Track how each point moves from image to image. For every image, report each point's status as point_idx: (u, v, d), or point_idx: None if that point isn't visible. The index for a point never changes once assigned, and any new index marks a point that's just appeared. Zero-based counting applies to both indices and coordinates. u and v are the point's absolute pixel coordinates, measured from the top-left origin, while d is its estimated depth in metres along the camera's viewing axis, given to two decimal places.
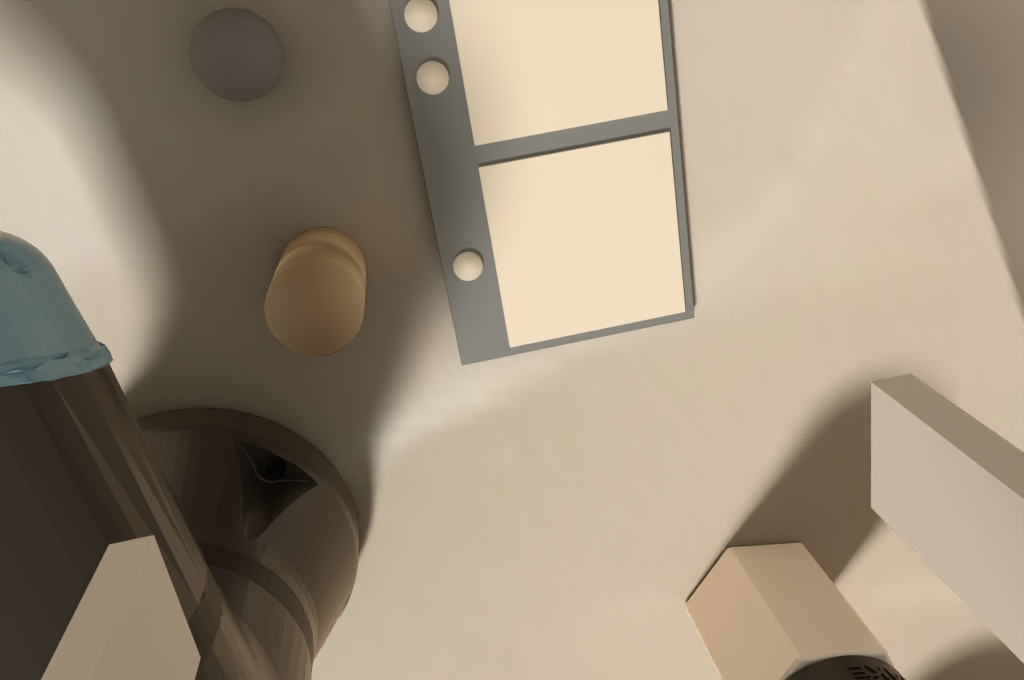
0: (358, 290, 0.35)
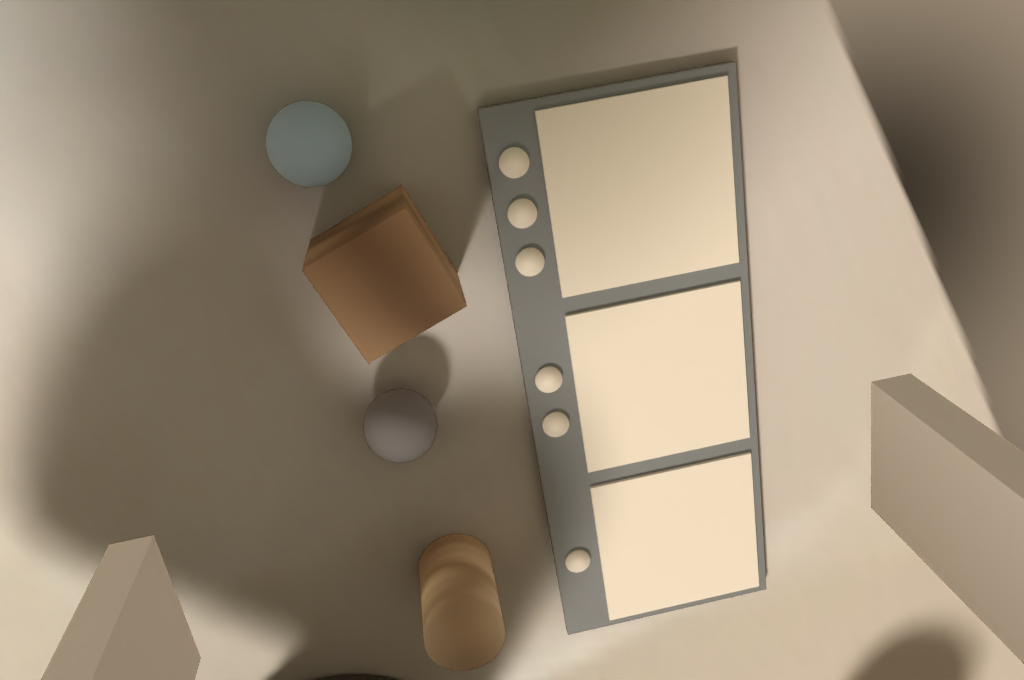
0: (501, 621, 0.42)
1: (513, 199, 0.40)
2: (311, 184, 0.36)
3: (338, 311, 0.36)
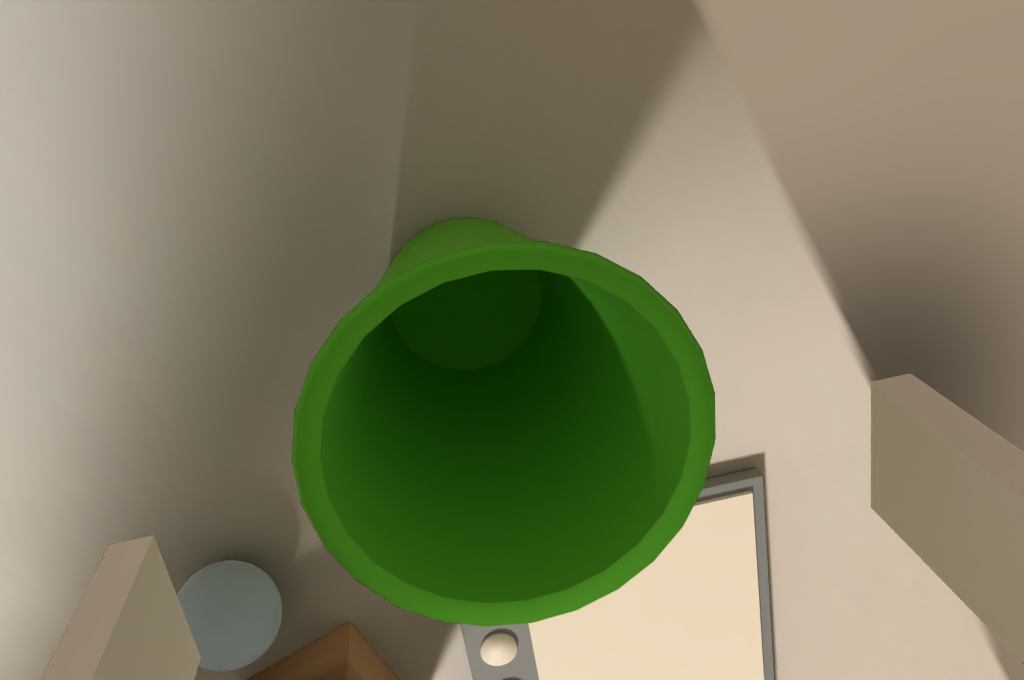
0: None
1: (487, 634, 0.32)
2: None
3: None
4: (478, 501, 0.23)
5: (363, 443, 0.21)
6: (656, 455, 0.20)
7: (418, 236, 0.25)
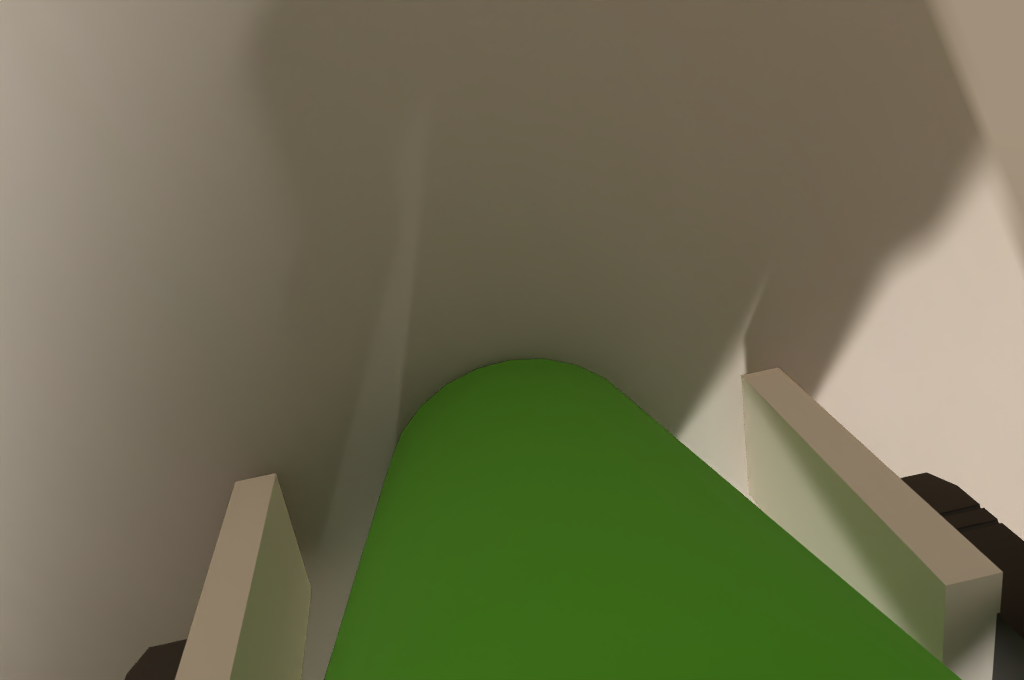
0: None
1: None
2: None
3: None
4: None
5: None
6: None
7: (449, 405, 0.14)
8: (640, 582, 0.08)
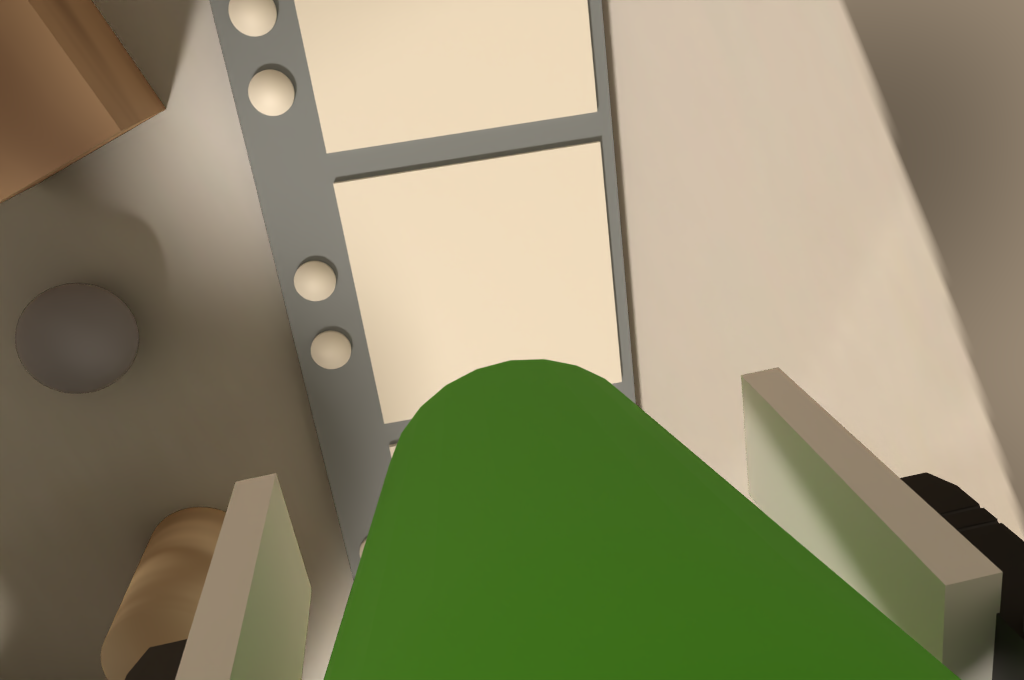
0: None
1: None
2: None
3: None
4: None
5: None
6: None
7: (449, 405, 0.14)
8: (640, 583, 0.08)
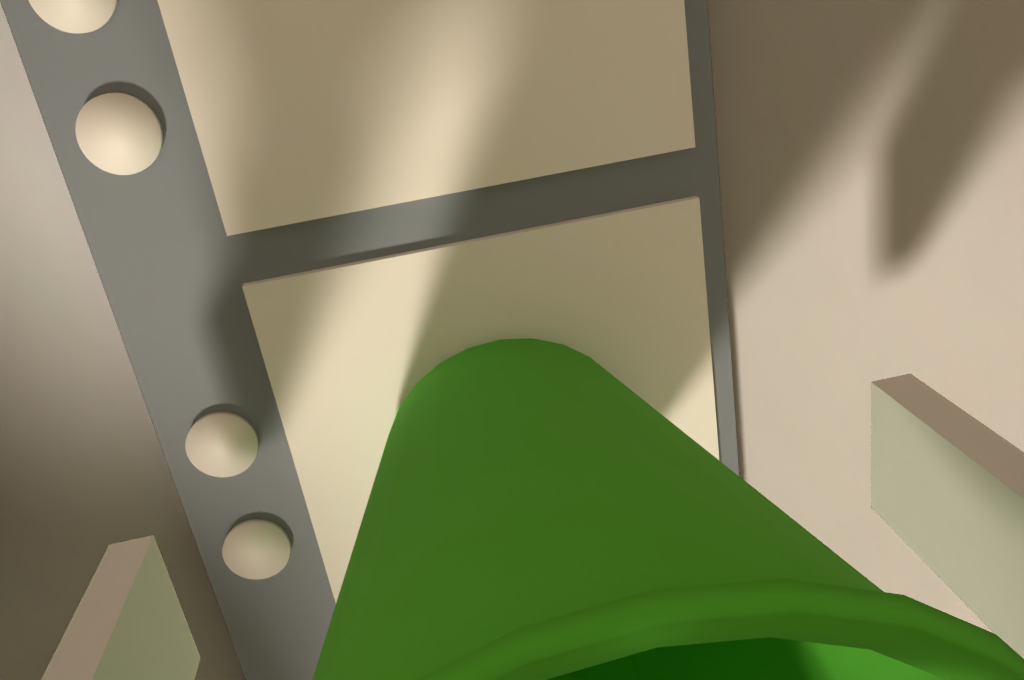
0: None
1: None
2: None
3: None
4: None
5: None
6: None
7: (443, 380, 0.16)
8: (611, 516, 0.09)
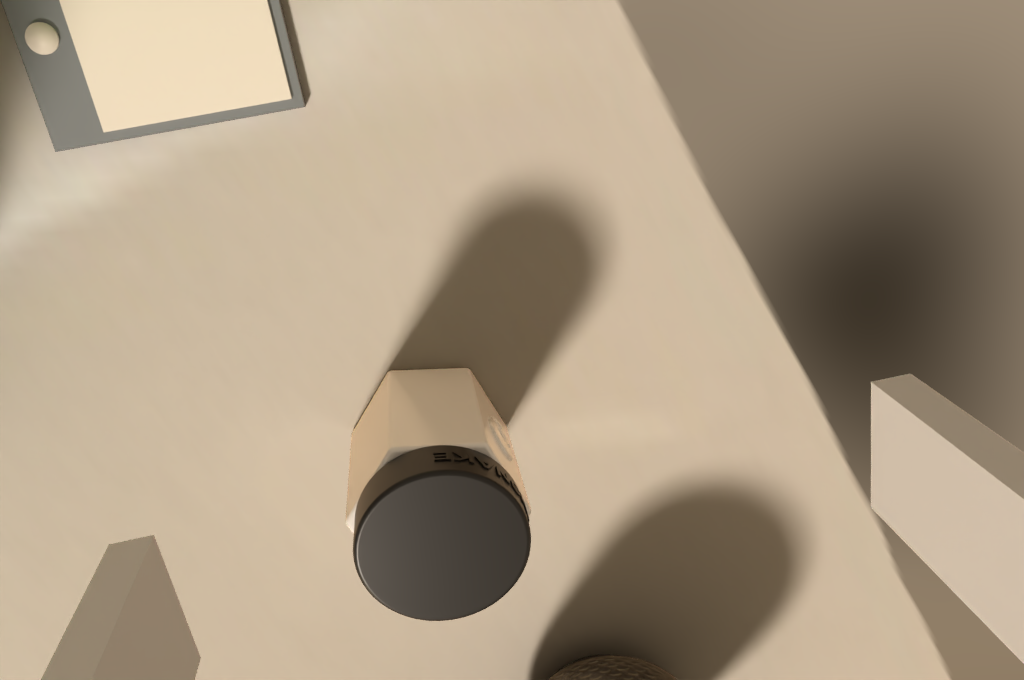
0: None
1: None
2: None
3: None
4: None
5: None
6: None
7: None
8: None
